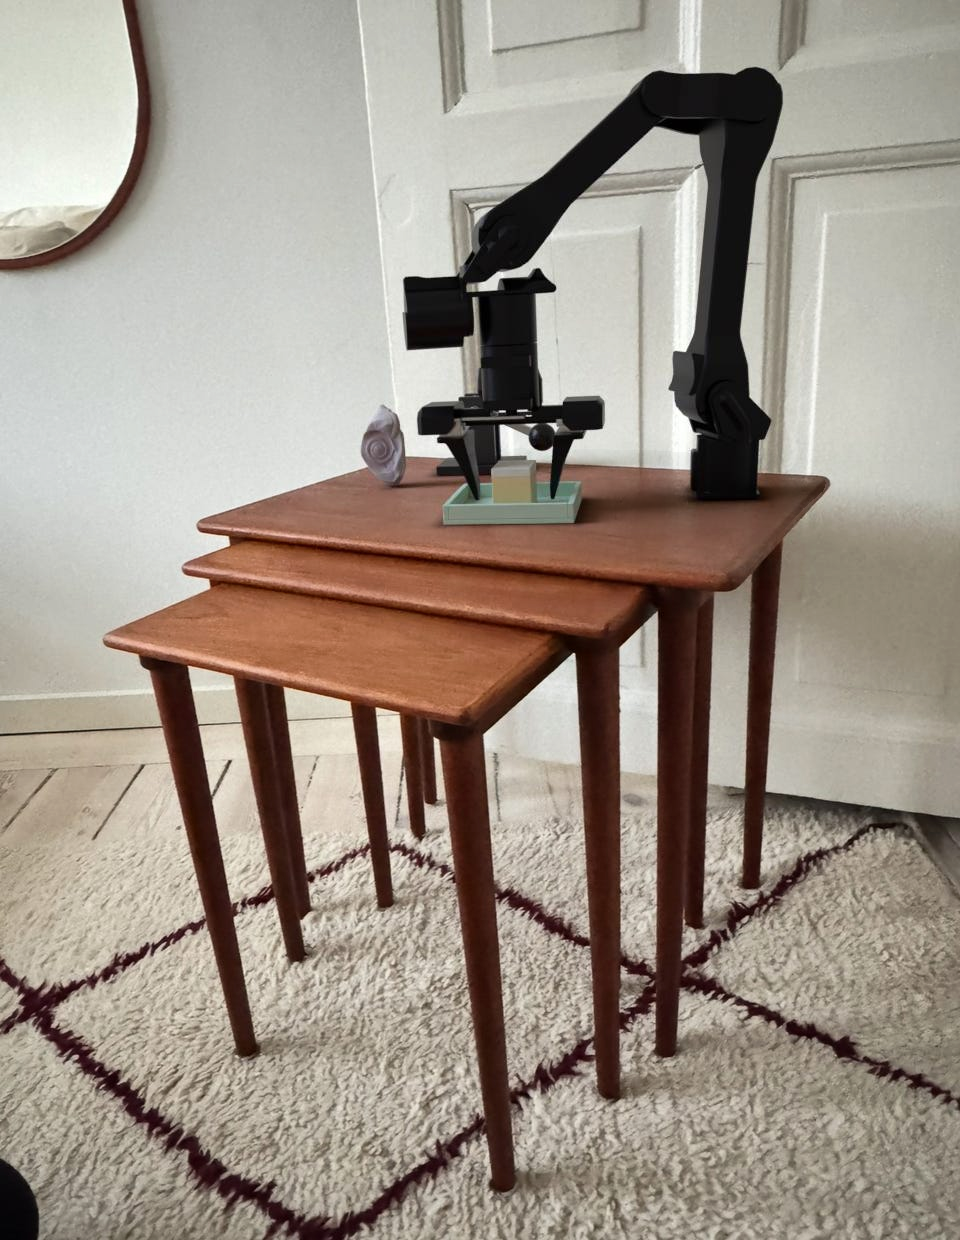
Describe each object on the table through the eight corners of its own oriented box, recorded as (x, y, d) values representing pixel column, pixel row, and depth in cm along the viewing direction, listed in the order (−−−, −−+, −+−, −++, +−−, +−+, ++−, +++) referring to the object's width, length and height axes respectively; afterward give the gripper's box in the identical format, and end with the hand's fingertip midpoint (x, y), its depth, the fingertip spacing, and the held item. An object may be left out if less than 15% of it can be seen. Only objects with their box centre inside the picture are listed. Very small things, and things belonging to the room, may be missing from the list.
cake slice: (537, 501, 96) (536, 459, 94) (531, 511, 91) (530, 468, 90) (500, 501, 97) (498, 460, 95) (493, 512, 92) (491, 469, 91)
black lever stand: (526, 464, 121) (524, 390, 118) (519, 473, 115) (516, 395, 111) (448, 466, 123) (443, 393, 120) (436, 475, 117) (431, 399, 113)
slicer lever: (550, 453, 118) (561, 427, 117) (547, 457, 115) (559, 431, 113) (467, 415, 118) (477, 390, 117) (461, 419, 115) (472, 392, 114)
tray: (582, 499, 98) (581, 481, 97) (573, 523, 88) (573, 503, 87) (464, 501, 101) (463, 483, 100) (443, 524, 90) (442, 505, 90)
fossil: (361, 488, 111) (353, 407, 108) (374, 483, 114) (367, 403, 111) (403, 489, 109) (395, 406, 105) (415, 484, 112) (409, 402, 108)
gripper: (606, 336, 94) (607, 482, 99) (435, 344, 98) (445, 485, 103) (601, 341, 84) (603, 504, 89) (410, 350, 87) (422, 506, 93)
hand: (515, 499), depth 94 cm, fingers open, 8 cm apart
